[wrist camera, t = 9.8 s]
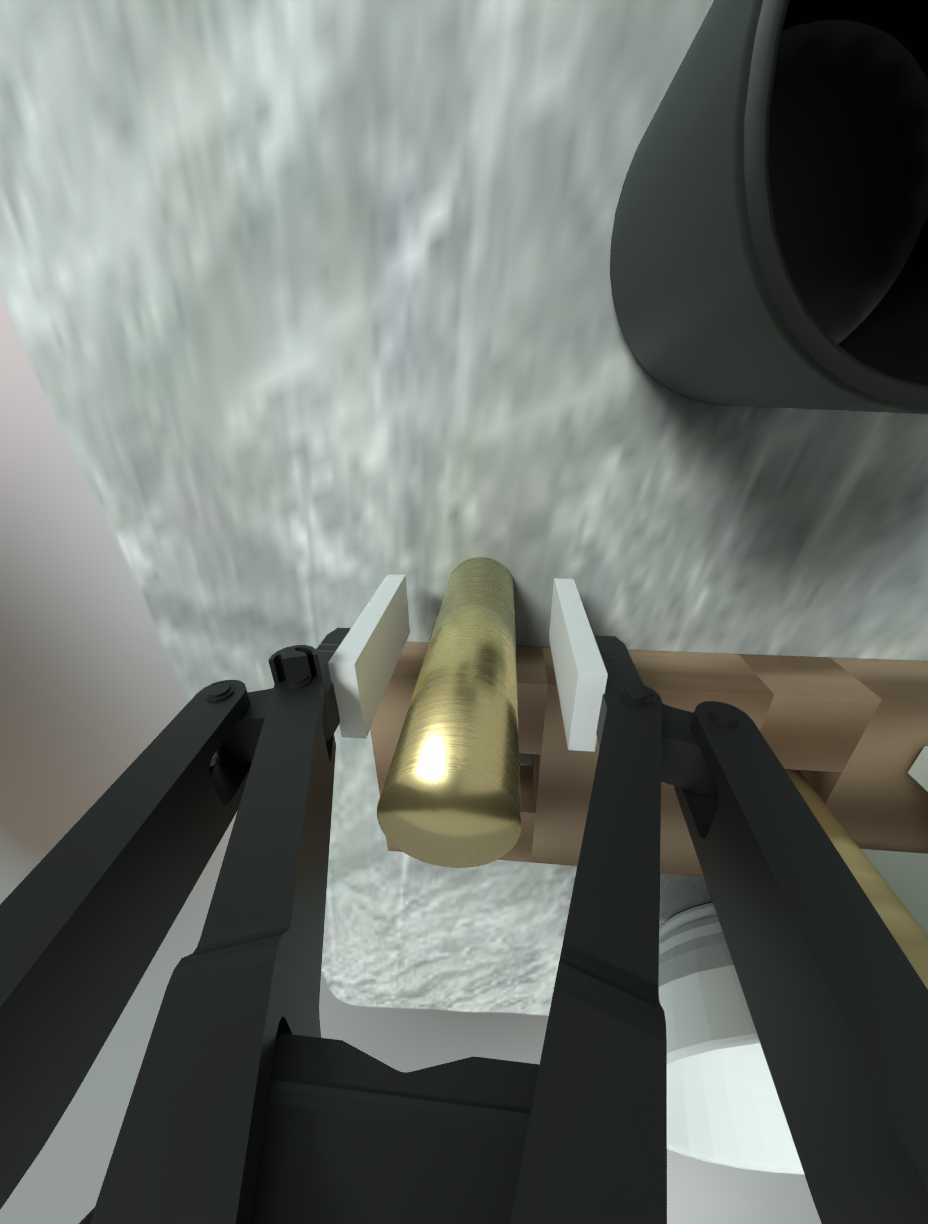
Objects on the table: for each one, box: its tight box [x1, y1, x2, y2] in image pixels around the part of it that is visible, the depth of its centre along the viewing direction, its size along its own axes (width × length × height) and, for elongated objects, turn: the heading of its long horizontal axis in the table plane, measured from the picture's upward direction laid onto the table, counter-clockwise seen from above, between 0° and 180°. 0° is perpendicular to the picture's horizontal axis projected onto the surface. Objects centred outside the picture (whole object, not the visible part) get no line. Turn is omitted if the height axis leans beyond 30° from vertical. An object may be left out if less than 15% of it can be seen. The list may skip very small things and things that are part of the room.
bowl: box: [658, 903, 805, 1175], centre depth 26 cm, size 19×20×8 cm
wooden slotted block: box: [370, 642, 928, 989], centre depth 17 cm, size 12×30×12 cm, turn 91°
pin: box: [377, 557, 521, 868], centre depth 14 cm, size 3×3×12 cm
